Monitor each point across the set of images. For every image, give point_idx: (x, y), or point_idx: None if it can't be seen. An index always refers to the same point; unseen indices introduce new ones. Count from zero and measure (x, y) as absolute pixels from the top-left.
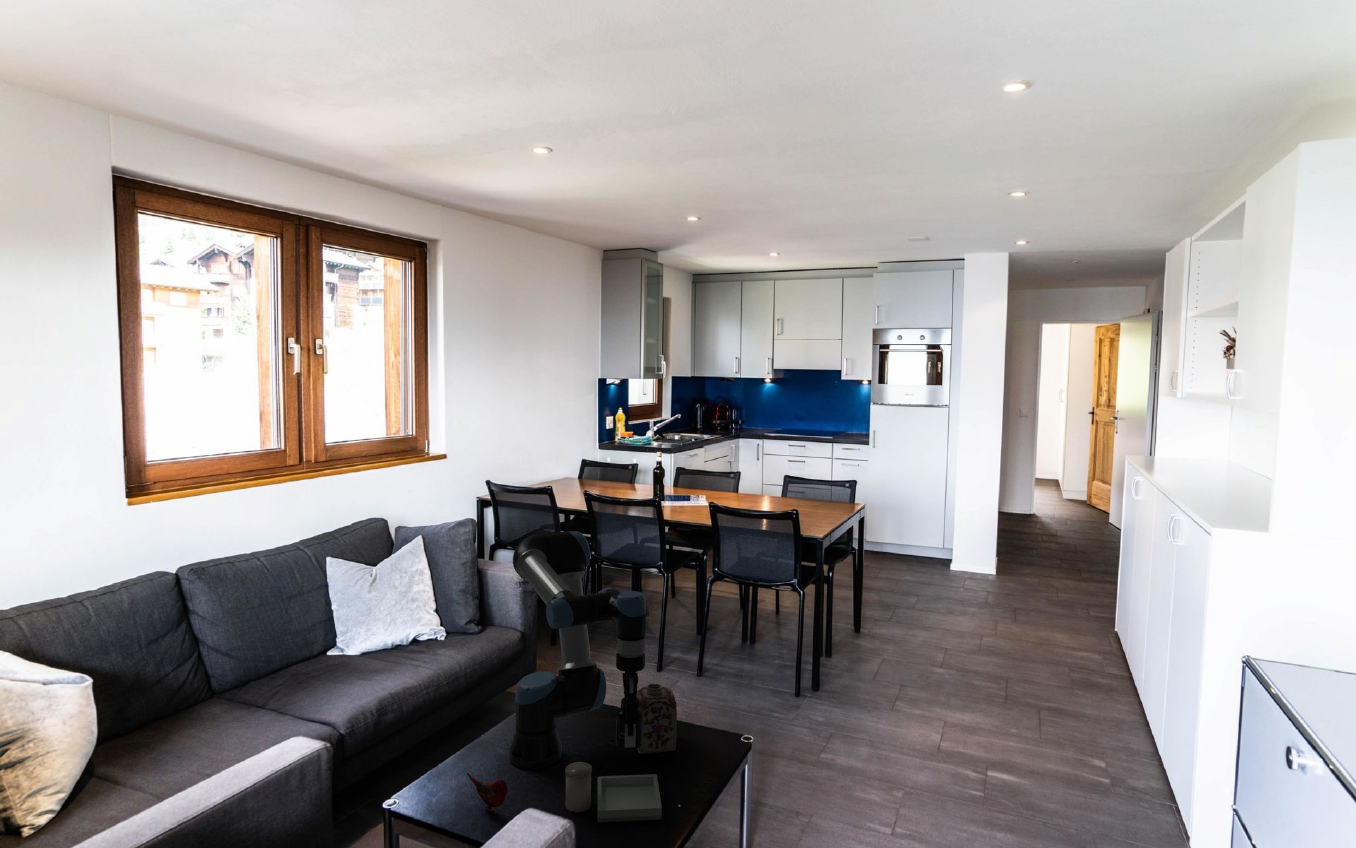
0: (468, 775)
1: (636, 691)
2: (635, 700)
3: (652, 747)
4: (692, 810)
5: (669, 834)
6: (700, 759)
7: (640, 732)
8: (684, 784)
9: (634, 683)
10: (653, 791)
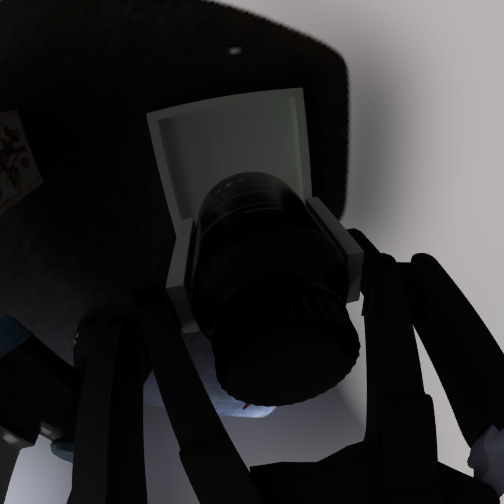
0: (246, 407)
1: (432, 417)
2: (501, 355)
3: (26, 158)
4: (254, 24)
5: (343, 75)
6: (41, 47)
7: (290, 196)
8: (142, 50)
9: (479, 483)
10: (196, 112)
